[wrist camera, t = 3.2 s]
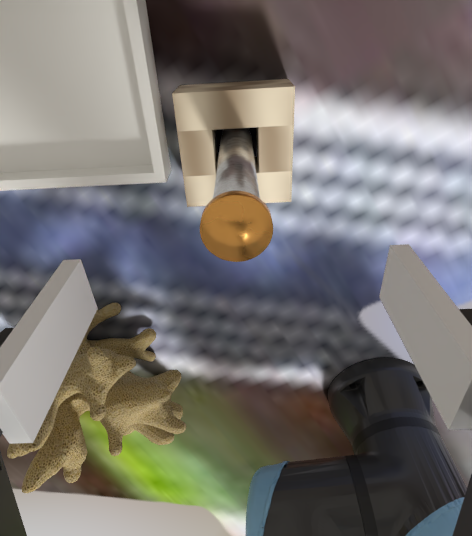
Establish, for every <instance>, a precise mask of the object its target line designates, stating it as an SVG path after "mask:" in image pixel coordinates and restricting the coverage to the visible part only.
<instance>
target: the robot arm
mask: <svg viewBox="0 0 472 536" xmlns="http://www.w3.org/2000/svg"><path fill="white" fill-rule="evenodd" d="M379 298H380V300H381V301H382V303H383V305H384V307H385V309H386V311H387V313H388V315H389V316H390V319H391V321H392V323H393V324H394V326H395V328H396V330H397V332H398V334H399V336H400V338H401V340H402V342H403V344H404V346H405V347H406V349H407V351H408V353H409V355H410V357H411V359H412V361H413V363H414V364H412V363H410V362H408V361H405V360H401V359H395V358H377V359H371V360H367V361H363V362H360V363H357V364H355V365H353V366H351V367H349V368H347V369H346V370H344V371H343V372H341V373H340V374H339V375H338V376H337V377H336V378H335V379H334V380H333V381H332V383H331V385H330V387H329V389H328V401H329V406H330V410H331V412H332V415H333V417H334V418H335V420H336V421H337V423H338V424H339V426H340V427H341V429H342V430H343V432H344V434H345V435H346V437H347V438H348V440H349V441H350V443H351V444H352V447H353V451H354V454H355V455H350V456H340V457H332V458H323V459H315V460H306V461H295V462H289V461H284V462H283V463H280V464H275V465H269V466H264V467H261V468H260V469H258V470H257V471H256V473H255V474H254V476H253V478H252V481H251V484H250V488H249V493H248V501H247V512H246V536H472V475H471V478H470V481H469V484H468V488H467V487H466V485H465V483H464V481H463V479H462V477H461V475H460V473H459V471H458V469H457V467H456V465H455V463H454V461H453V459H452V457H451V455H450V454H449V452H448V450H447V448H446V446H445V444H444V442H443V440H442V438H441V436H440V434H439V432H438V430H437V428H436V425H435V419H434V411H433V403H432V399H433V401H434V403H435V405H436V407H437V409H438V411H439V413H440V415H441V417H442V419H443V420H444V422H445V424H446V426H447V428H448V430H471V429H472V309H458V308H457V306H456V305H455V304H454V302H453V301H452V300H451V299H450V297H449V296H448V295H447V293H446V292H445V291H444V290H443V288H442V287H441V286H440V284H439V283H438V282H437V281H436V279H435V278H434V277H433V275H432V274H431V273H430V272H429V270H428V269H427V268H426V266H425V265H424V264H423V262H422V261H421V260H420V259H419V257H418V256H417V255H416V253H415V252H414V251H413V250H412V248H411V247H410V246H409V244H408V245H390V248H389V253H388V257H387V262H386V267H385V272H384V277H383V281H382V286H381V291H380V296H379ZM97 309H98V308H97V305H96V302H95V299H94V296H93V293H92V290H91V287H90V285H89V282H88V279H87V276H86V273H85V270H84V267H83V264H82V261H81V259H76V260H63V261H62V263H61V264H60V265H59V267H58V268H57V269H56V271H55V272H54V274H53V275H52V276H51V278H50V279H49V281H48V282H47V283H46V285H45V286H44V287H43V289H42V290H41V292H40V293H39V294H38V296H37V297H36V299H35V300H34V301H33V303H32V304H31V305H30V307H29V308H28V310H27V311H26V312H25V314H24V315H23V317H22V318H21V319H20V321H19V322H18V323H17V325H16V326H15V328H5V329H4V330H3V331H2V332H0V436H1V434H2V433H3V435H4V436H5V438H6V439H7V441H8V442H9V443H10V444H15V443H33V442H34V440H35V438H36V436H37V434H38V432H39V430H40V428H41V426H42V423H43V421H44V419H45V417H46V415H47V413H48V411H49V409H50V407H51V405H52V403H53V401H54V398H55V396H56V394H57V392H58V390H59V388H60V386H61V384H62V382H63V380H64V378H65V376H66V374H67V371H68V369H69V367H70V365H71V363H72V361H73V359H74V357H75V355H76V353H77V351H78V349H79V346H80V344H81V342H82V340H83V338H84V336H85V334H86V332H87V330H88V328H89V326H90V324H91V322H92V319H93V317H94V315H95V313H96V311H97ZM0 536H27V535H26V532H25V528H24V525H23V522H22V519H21V516H20V513H19V509H18V507H17V503H16V500H15V497H14V493H13V490H12V487H11V484H10V481H9V477H8V474H7V471H6V468H5V465H4V462H3V458H2V455H1V452H0Z"/></svg>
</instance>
